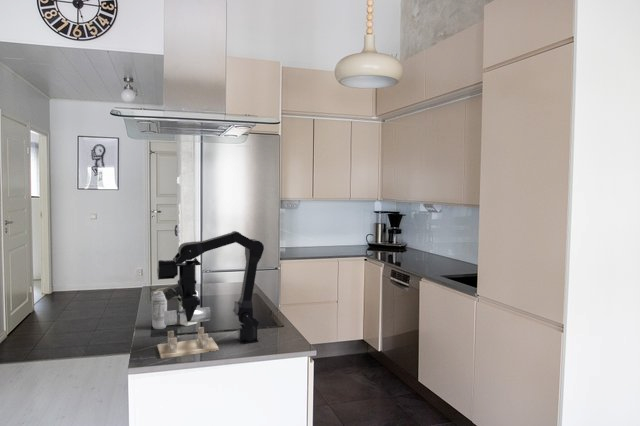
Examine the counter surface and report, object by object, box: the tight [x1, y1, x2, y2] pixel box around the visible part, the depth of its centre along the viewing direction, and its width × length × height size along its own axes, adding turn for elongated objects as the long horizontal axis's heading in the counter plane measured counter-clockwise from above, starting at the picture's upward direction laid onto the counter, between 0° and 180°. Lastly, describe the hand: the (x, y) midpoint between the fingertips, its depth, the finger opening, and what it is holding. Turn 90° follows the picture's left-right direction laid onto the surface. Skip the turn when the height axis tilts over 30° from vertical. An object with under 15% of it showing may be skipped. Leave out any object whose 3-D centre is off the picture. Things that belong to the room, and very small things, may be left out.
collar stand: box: [157, 326, 219, 359], centre depth 167 cm, size 20×12×6 cm, turn 115°
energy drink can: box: [151, 290, 168, 330], centre depth 190 cm, size 6×6×15 cm
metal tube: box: [164, 306, 212, 326], centre depth 166 cm, size 16×5×5 cm, turn 115°
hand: (187, 319), depth 166 cm, fingers closed on metal tube, 5 cm apart
